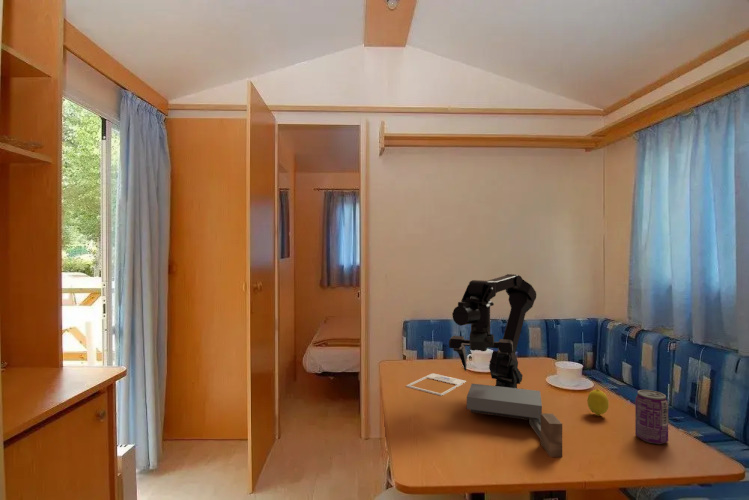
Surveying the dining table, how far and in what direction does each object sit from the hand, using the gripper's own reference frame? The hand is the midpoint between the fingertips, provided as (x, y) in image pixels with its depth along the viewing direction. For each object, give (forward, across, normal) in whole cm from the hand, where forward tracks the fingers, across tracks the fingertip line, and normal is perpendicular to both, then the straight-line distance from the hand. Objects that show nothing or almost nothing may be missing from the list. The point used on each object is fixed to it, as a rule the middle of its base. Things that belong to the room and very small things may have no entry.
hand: (480, 371), depth 125 cm
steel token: (+12, +18, -5) cm, 22 cm away
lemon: (+12, +33, +8) cm, 36 cm away
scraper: (+12, +17, -13) cm, 25 cm away
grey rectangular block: (+12, +7, -4) cm, 15 cm away
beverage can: (+12, +44, -4) cm, 46 cm away
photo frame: (+13, -18, +19) cm, 29 cm away
